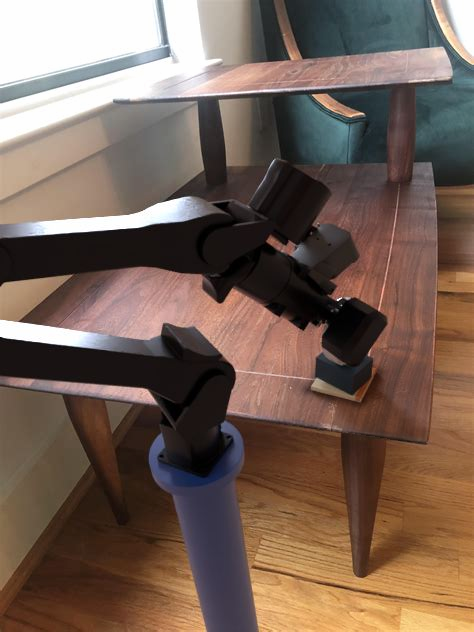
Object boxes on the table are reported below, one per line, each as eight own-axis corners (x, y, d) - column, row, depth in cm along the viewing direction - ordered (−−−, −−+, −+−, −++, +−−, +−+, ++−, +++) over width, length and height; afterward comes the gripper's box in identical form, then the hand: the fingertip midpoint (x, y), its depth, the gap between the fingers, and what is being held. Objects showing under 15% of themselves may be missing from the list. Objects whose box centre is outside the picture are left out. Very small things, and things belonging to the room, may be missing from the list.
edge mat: (360, 402, 66) (360, 398, 66) (311, 390, 69) (310, 386, 68) (376, 371, 70) (376, 368, 70) (329, 361, 73) (329, 357, 73)
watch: (379, 370, 70) (388, 297, 64) (343, 403, 65) (350, 327, 59) (342, 353, 73) (347, 281, 67) (305, 383, 68) (308, 309, 62)
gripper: (376, 238, 48) (451, 304, 58) (263, 189, 63) (339, 249, 73) (307, 343, 49) (392, 390, 59) (211, 271, 64) (293, 319, 74)
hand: (352, 330), depth 66 cm, fingers closed on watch, 5 cm apart
